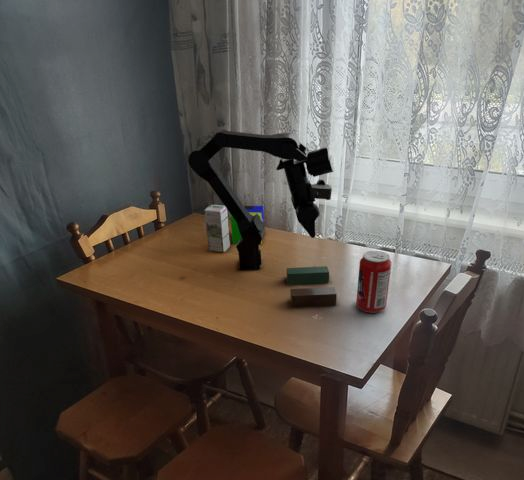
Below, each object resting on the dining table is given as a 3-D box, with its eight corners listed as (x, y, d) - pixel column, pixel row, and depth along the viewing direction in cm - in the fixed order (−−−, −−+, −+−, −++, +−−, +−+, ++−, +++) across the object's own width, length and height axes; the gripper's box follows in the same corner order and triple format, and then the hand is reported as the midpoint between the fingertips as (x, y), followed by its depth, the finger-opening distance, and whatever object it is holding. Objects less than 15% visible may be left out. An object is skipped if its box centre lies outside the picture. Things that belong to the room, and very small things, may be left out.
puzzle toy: (264, 233, 177) (263, 206, 171) (261, 244, 168) (260, 216, 163) (236, 232, 178) (234, 205, 172) (232, 243, 169) (230, 215, 164)
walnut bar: (291, 307, 132) (291, 296, 130) (290, 300, 136) (290, 288, 134) (335, 305, 132) (336, 293, 131) (333, 298, 136) (334, 286, 134)
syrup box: (230, 246, 168) (227, 204, 160) (223, 253, 163) (220, 211, 155) (215, 244, 169) (211, 203, 161) (208, 251, 165) (203, 209, 157)
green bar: (287, 284, 143) (287, 274, 141) (286, 278, 146) (286, 267, 145) (328, 282, 143) (329, 272, 141) (326, 276, 147) (327, 266, 145)
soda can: (379, 318, 126) (385, 265, 118) (351, 310, 130) (355, 258, 122) (390, 304, 132) (396, 253, 124) (362, 297, 135) (367, 247, 127)
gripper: (331, 179, 128) (343, 234, 136) (321, 165, 144) (333, 214, 152) (290, 192, 130) (305, 246, 137) (284, 176, 146) (298, 225, 153)
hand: (311, 232), depth 145 cm, fingers open, 9 cm apart
